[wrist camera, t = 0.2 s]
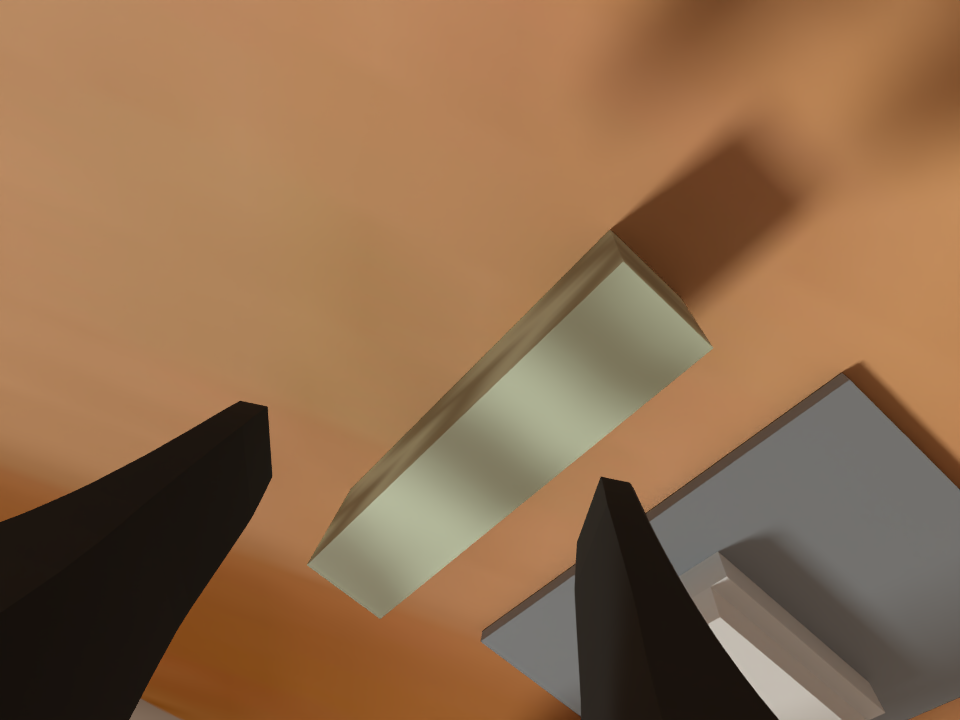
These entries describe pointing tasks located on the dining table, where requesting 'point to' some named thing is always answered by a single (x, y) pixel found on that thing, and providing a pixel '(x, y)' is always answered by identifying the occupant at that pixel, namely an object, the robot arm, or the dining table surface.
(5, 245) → the dining table surface
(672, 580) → the robot arm
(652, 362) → the bar
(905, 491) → the stand
